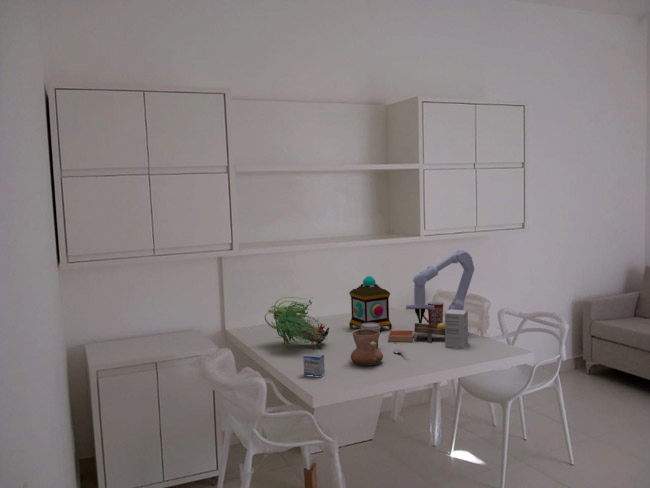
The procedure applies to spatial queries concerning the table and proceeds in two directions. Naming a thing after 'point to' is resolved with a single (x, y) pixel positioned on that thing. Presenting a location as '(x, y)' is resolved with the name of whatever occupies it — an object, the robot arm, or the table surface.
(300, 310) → the plant
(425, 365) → the table surface
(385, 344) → the table surface
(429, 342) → the seesaw stand
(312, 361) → the medicine box
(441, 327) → the ball
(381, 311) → the decorative lantern
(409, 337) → the tray
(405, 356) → the spoon
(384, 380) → the table surface
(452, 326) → the supplement box
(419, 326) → the brown wooden tray
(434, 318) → the mug
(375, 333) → the ceramic jug
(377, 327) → the disposable coffee cup
